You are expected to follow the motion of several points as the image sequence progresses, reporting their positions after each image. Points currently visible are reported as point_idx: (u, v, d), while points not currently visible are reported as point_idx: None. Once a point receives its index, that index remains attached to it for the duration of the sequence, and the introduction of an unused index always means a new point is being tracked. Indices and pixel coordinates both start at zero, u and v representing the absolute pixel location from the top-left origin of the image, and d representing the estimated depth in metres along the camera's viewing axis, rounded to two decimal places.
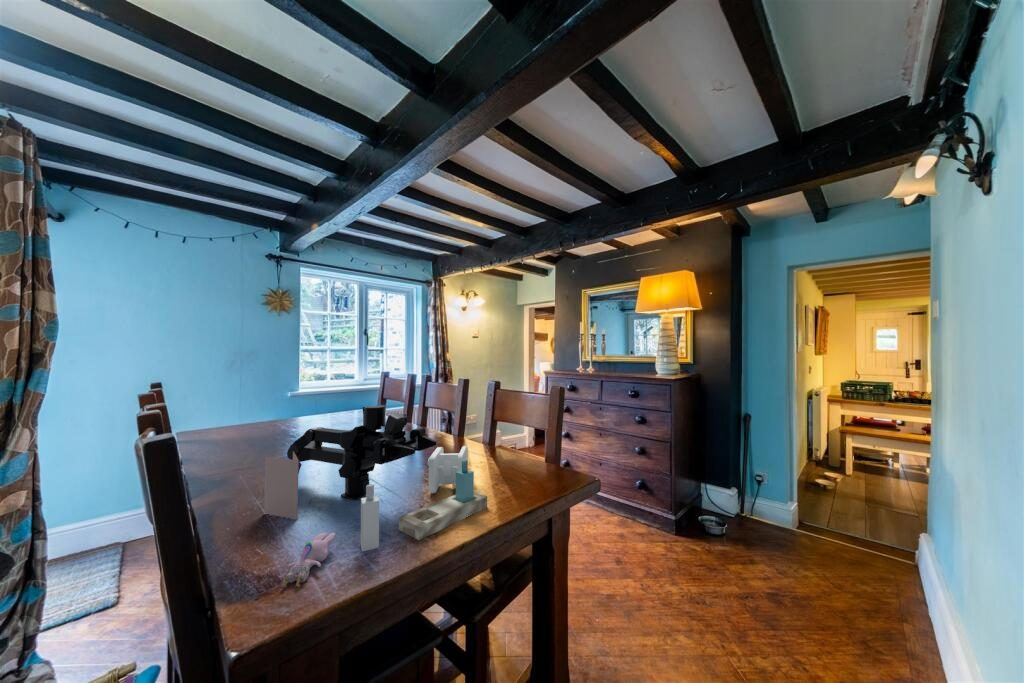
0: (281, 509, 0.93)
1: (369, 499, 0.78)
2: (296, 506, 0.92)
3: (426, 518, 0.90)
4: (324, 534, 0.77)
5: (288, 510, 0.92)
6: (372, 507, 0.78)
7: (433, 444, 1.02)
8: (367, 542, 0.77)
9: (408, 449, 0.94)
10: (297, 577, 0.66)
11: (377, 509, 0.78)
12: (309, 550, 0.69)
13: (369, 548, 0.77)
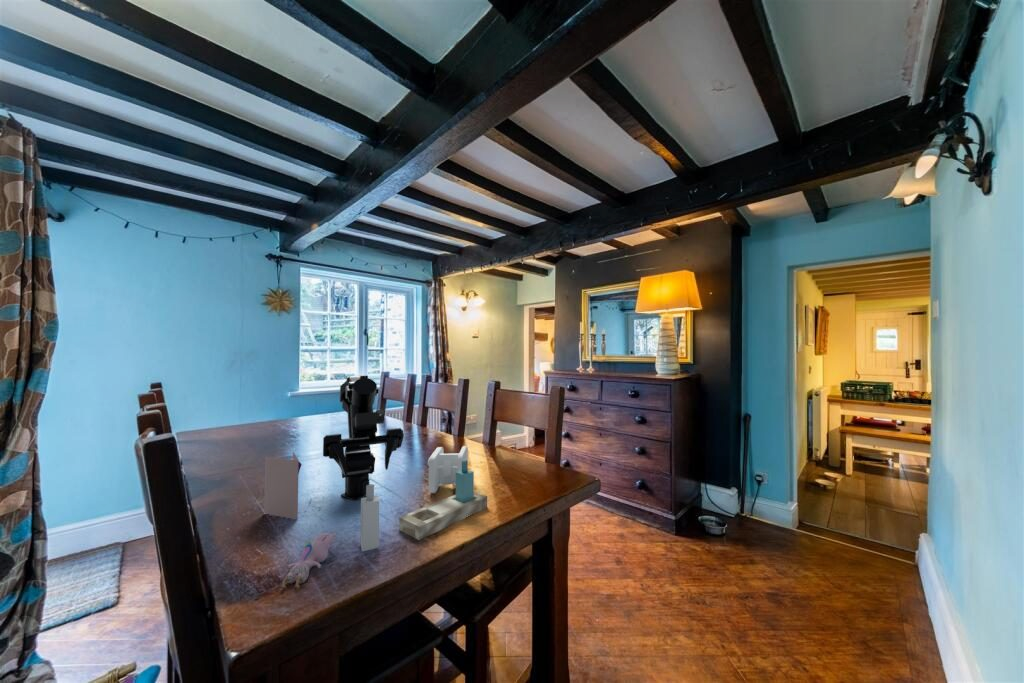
0: (281, 509, 0.93)
1: (369, 499, 0.78)
2: (296, 506, 0.92)
3: (426, 518, 0.90)
4: (325, 534, 0.77)
5: (288, 510, 0.92)
6: (372, 507, 0.78)
7: (385, 467, 0.89)
8: (367, 542, 0.77)
9: (342, 468, 0.85)
10: (297, 578, 0.65)
11: (377, 509, 0.78)
12: (309, 551, 0.69)
13: (369, 548, 0.77)
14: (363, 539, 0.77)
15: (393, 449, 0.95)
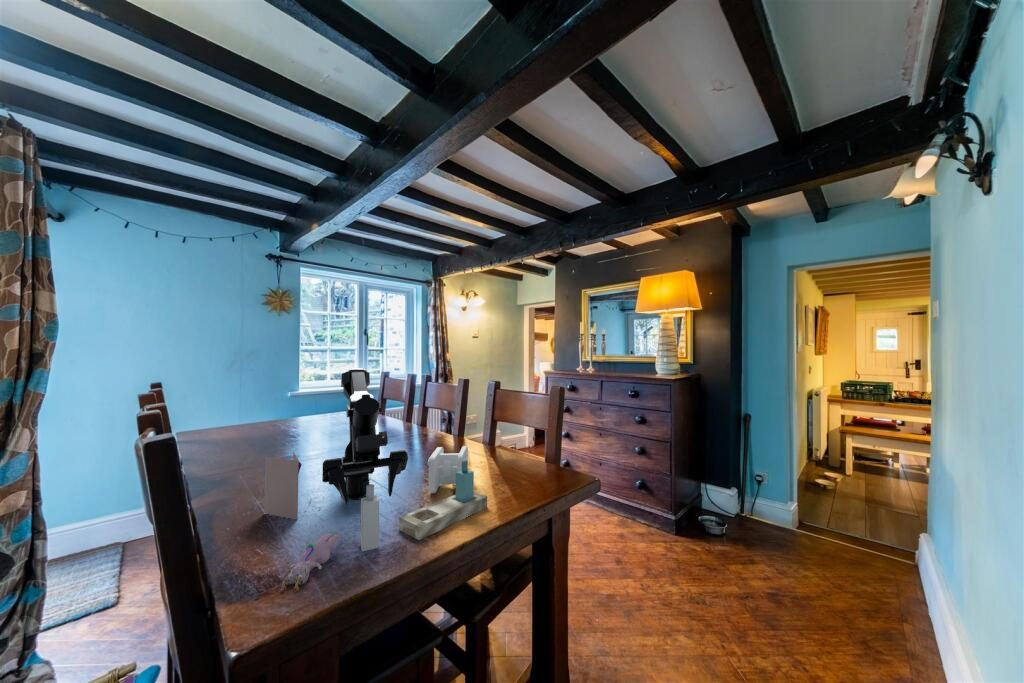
0: (281, 509, 0.93)
1: (369, 499, 0.78)
2: (296, 506, 0.92)
3: (426, 518, 0.90)
4: (329, 535, 0.77)
5: (288, 510, 0.92)
6: (372, 507, 0.78)
7: (389, 493, 0.83)
8: (367, 542, 0.77)
9: (343, 496, 0.79)
10: (297, 579, 0.65)
11: (377, 509, 0.78)
12: (310, 552, 0.69)
13: (369, 548, 0.77)
14: (363, 539, 0.77)
15: (397, 472, 0.89)
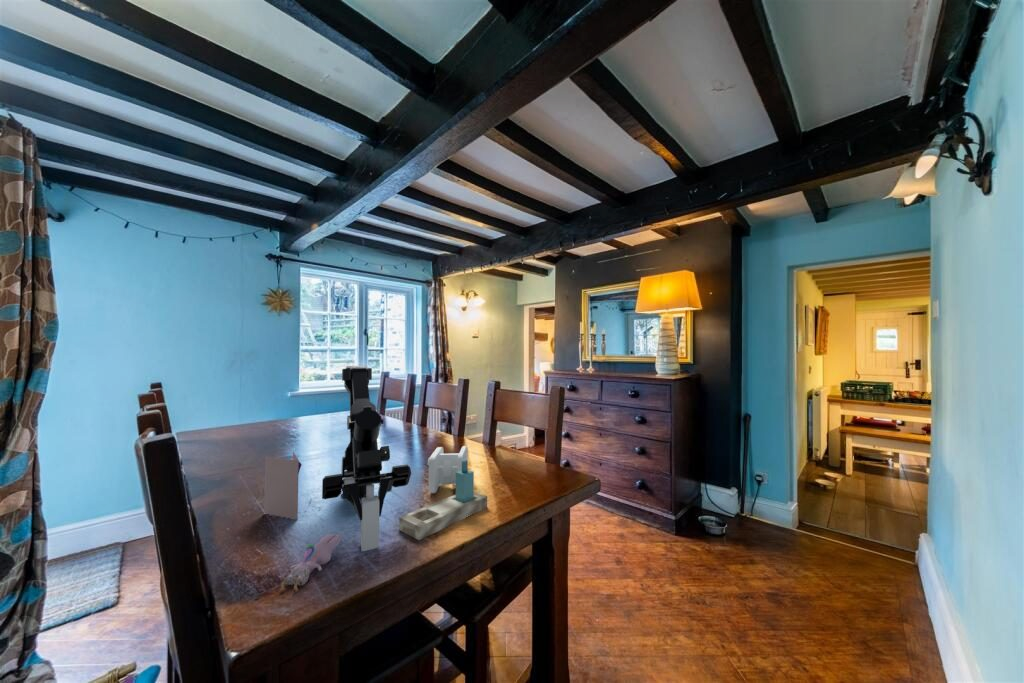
0: (281, 509, 0.93)
1: (369, 499, 0.78)
2: (296, 506, 0.92)
3: (426, 518, 0.90)
4: (331, 536, 0.77)
5: (288, 510, 0.92)
6: (372, 507, 0.78)
7: None
8: (367, 542, 0.77)
9: (357, 511, 0.77)
10: (296, 580, 0.65)
11: (377, 509, 0.78)
12: (311, 553, 0.68)
13: (369, 548, 0.77)
14: (363, 539, 0.76)
15: (387, 490, 0.85)
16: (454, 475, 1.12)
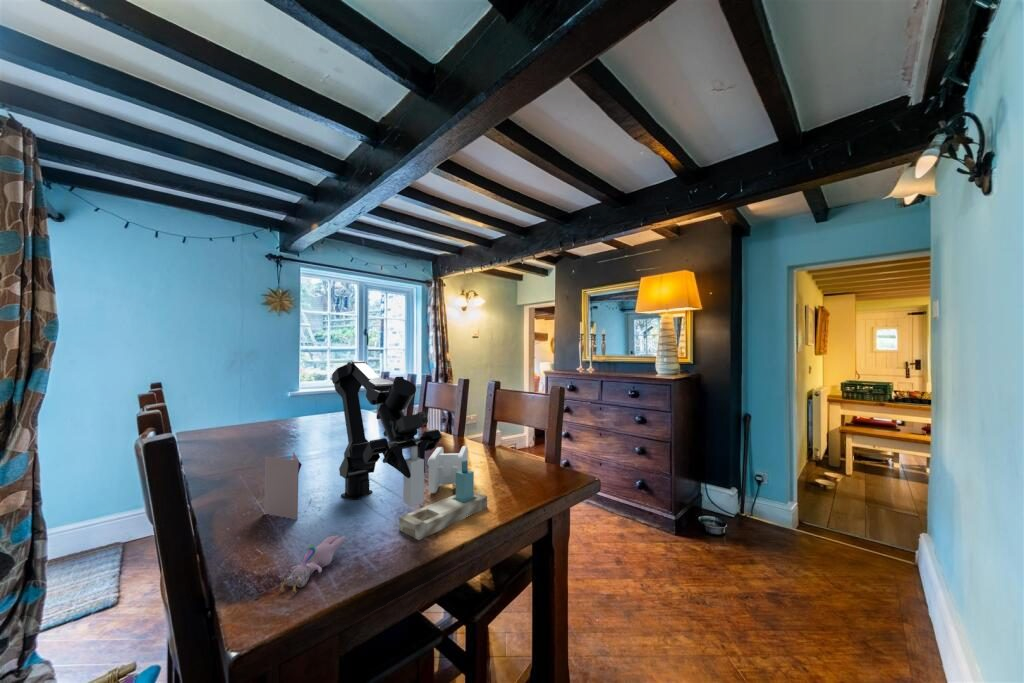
0: (281, 509, 0.93)
1: (414, 459, 0.84)
2: (296, 506, 0.92)
3: (426, 518, 0.90)
4: (334, 537, 0.76)
5: (288, 510, 0.92)
6: (418, 466, 0.84)
7: None
8: (414, 497, 0.83)
9: (405, 470, 0.83)
10: (296, 581, 0.64)
11: (422, 467, 0.85)
12: (311, 554, 0.68)
13: (416, 503, 0.83)
14: (411, 495, 0.83)
15: None
16: (454, 475, 1.12)
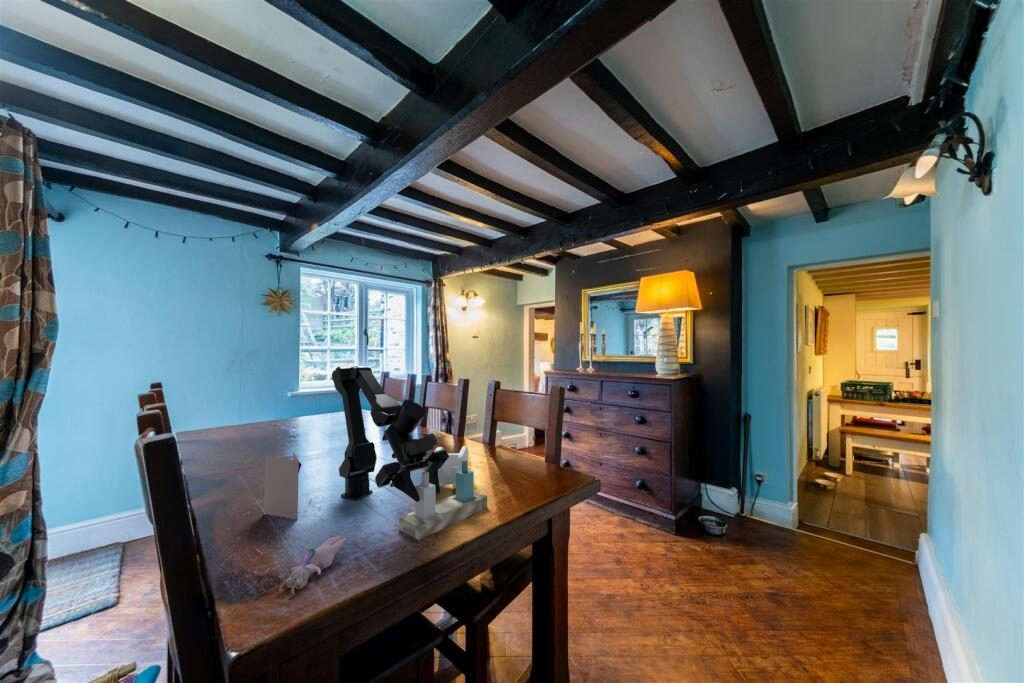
0: (281, 509, 0.93)
1: (426, 485, 0.87)
2: (296, 506, 0.92)
3: None
4: (336, 538, 0.76)
5: (288, 510, 0.92)
6: (430, 492, 0.86)
7: (436, 491, 0.89)
8: None
9: (414, 494, 0.84)
10: (295, 583, 0.64)
11: (434, 493, 0.87)
12: (311, 556, 0.67)
13: None
14: None
15: None
16: (454, 475, 1.12)
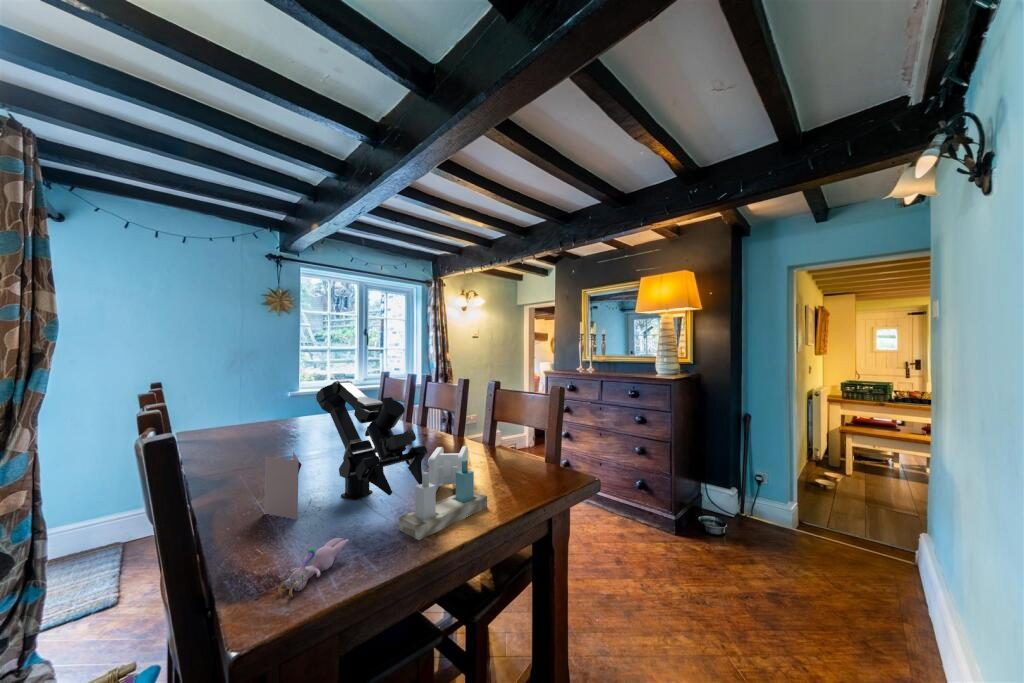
0: (281, 509, 0.93)
1: (426, 485, 0.87)
2: (296, 506, 0.92)
3: None
4: (338, 540, 0.75)
5: (288, 510, 0.92)
6: (430, 492, 0.86)
7: (419, 482, 0.96)
8: None
9: (386, 488, 0.88)
10: (293, 585, 0.63)
11: (434, 493, 0.87)
12: (311, 557, 0.67)
13: None
14: None
15: None
16: (454, 475, 1.12)
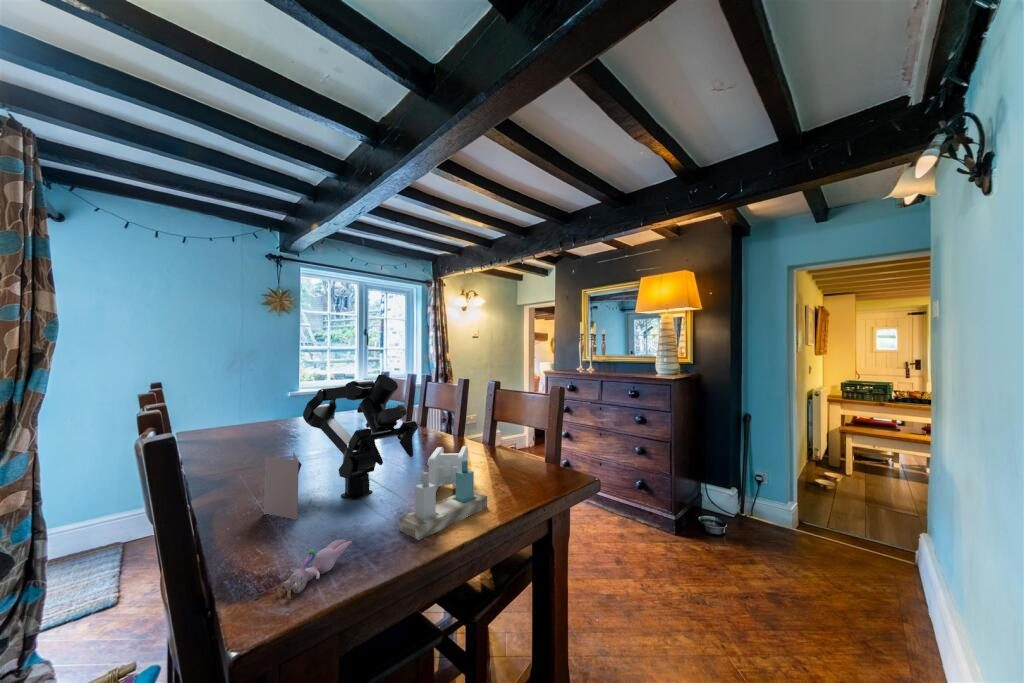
0: (281, 509, 0.93)
1: (426, 485, 0.87)
2: (296, 506, 0.92)
3: None
4: (341, 541, 0.74)
5: (288, 510, 0.92)
6: (430, 492, 0.86)
7: (409, 454, 1.00)
8: None
9: (378, 458, 0.93)
10: None
11: (434, 493, 0.87)
12: (311, 559, 0.66)
13: None
14: None
15: None
16: (454, 475, 1.12)
